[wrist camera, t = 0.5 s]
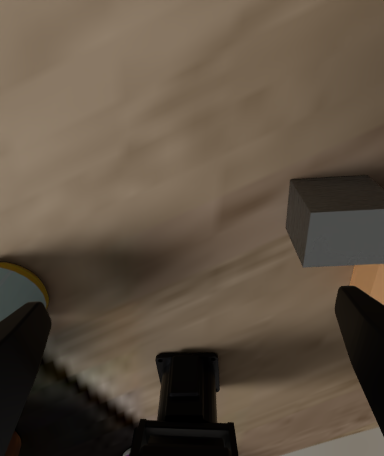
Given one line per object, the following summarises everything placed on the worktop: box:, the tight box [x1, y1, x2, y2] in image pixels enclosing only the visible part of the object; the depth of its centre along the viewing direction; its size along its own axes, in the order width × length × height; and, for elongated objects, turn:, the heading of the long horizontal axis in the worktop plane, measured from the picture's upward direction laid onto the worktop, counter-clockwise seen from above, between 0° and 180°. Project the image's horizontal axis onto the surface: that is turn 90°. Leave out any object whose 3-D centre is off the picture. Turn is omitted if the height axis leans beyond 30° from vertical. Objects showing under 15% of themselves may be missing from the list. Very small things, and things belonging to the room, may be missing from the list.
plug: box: [350, 264, 384, 305], centre depth 25 cm, size 10×4×3 cm, turn 4°
